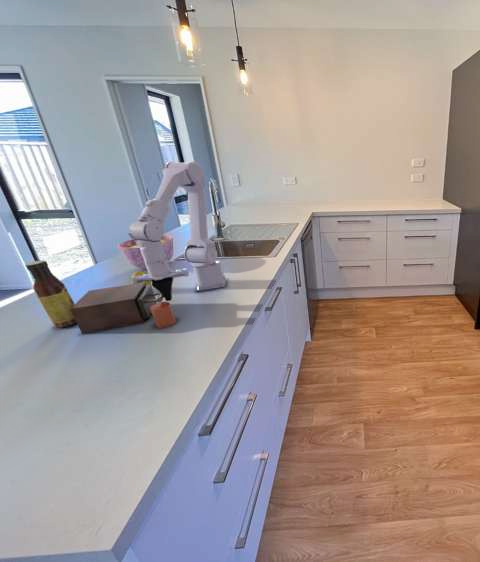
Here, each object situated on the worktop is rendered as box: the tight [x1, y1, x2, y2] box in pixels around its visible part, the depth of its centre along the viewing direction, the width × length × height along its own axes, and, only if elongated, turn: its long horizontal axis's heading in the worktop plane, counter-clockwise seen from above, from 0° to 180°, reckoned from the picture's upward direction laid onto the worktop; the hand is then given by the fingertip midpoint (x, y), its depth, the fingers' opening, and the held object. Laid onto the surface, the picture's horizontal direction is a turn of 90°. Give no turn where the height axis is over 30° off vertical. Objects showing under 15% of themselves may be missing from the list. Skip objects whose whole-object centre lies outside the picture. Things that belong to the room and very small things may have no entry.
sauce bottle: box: [25, 259, 77, 329], centre depth 87 cm, size 7×6×20 cm
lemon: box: [130, 270, 152, 286], centre depth 110 cm, size 6×6×8 cm
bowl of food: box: [117, 234, 174, 270], centre depth 133 cm, size 20×20×12 cm
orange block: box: [150, 301, 177, 329], centre depth 89 cm, size 5×5×6 cm
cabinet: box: [70, 282, 146, 335], centre depth 92 cm, size 15×13×8 cm
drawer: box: [136, 284, 165, 320], centre depth 94 cm, size 18×12×6 cm, turn 113°
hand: (169, 299), depth 97 cm, fingers closed
